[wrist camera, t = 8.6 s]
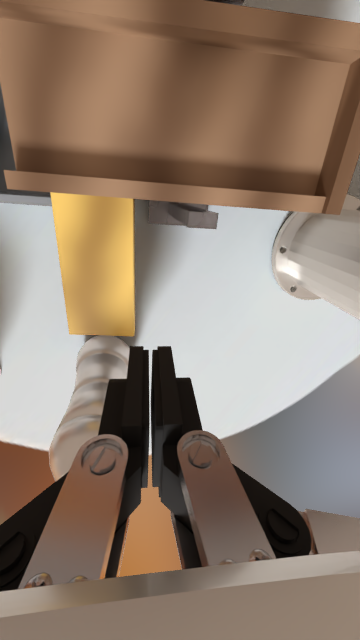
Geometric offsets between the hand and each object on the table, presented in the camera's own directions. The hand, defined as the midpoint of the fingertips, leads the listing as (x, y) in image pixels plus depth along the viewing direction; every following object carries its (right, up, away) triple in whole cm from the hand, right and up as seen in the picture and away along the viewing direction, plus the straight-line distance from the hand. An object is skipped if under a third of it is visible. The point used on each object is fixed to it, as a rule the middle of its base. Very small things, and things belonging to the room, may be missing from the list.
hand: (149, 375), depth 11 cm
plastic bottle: (-8, -2, +23) cm, 24 cm away
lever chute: (+1, +12, +11) cm, 17 cm away
